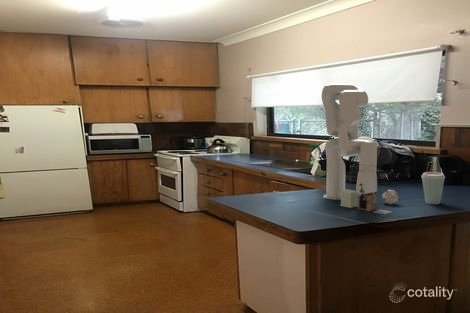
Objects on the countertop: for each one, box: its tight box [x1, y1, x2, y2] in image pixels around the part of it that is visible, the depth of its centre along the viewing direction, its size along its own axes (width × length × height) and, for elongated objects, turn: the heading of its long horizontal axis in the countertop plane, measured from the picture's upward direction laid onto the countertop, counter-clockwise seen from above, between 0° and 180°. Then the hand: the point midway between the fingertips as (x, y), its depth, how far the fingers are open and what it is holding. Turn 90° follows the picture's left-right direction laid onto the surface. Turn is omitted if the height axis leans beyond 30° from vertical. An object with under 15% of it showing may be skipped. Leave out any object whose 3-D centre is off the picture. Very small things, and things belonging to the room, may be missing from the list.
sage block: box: [340, 189, 358, 208], centre depth 189 cm, size 6×6×7 cm
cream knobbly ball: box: [379, 187, 401, 206], centre depth 193 cm, size 9×8×10 cm
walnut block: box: [357, 193, 377, 212], centre depth 181 cm, size 6×6×7 cm
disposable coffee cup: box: [421, 171, 446, 205], centre depth 196 cm, size 11×11×15 cm
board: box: [339, 204, 394, 216], centre depth 182 cm, size 14×24×1 cm, turn 39°
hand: (366, 207), depth 182 cm, fingers closed on walnut block, 5 cm apart
